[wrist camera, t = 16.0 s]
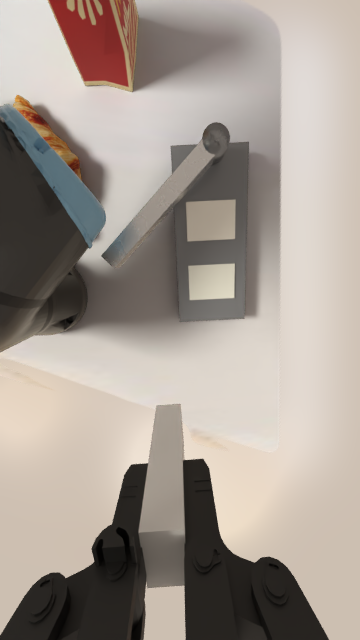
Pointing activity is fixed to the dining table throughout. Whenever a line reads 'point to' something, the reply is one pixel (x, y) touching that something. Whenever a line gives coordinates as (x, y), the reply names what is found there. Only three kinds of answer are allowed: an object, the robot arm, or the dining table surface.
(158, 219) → the swing arm
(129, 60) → the milk carton
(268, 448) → the dining table surface
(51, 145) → the croissant
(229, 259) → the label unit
